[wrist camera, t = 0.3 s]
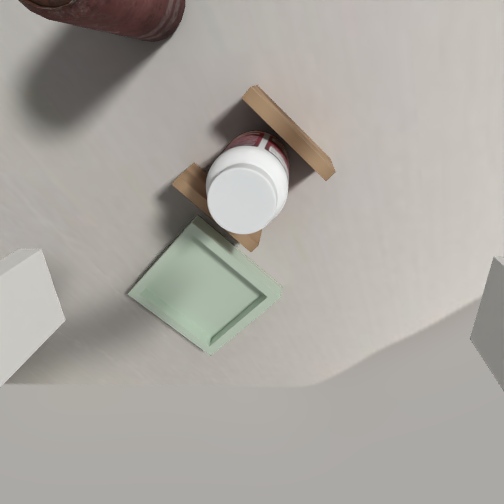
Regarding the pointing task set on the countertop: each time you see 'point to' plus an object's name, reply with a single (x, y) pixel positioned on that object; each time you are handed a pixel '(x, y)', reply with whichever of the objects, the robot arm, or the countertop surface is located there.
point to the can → (115, 15)
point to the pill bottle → (248, 183)
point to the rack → (280, 122)
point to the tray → (205, 287)
